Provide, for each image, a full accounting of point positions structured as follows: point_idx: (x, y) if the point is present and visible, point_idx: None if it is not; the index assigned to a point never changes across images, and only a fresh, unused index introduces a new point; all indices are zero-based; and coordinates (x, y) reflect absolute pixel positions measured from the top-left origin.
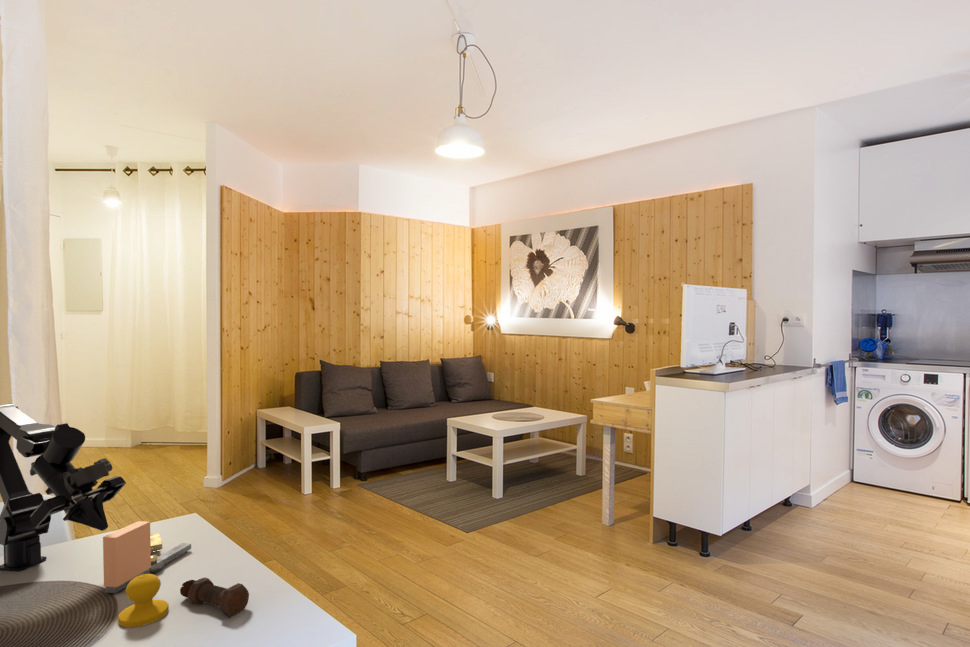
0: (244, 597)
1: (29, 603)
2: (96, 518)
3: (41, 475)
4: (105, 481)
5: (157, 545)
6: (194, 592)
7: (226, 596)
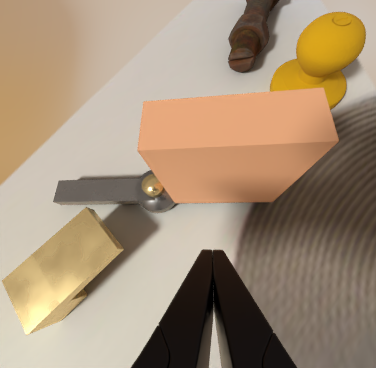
0: None
1: (358, 363)
2: (255, 304)
3: None
4: None
5: (92, 215)
6: (267, 27)
7: None
